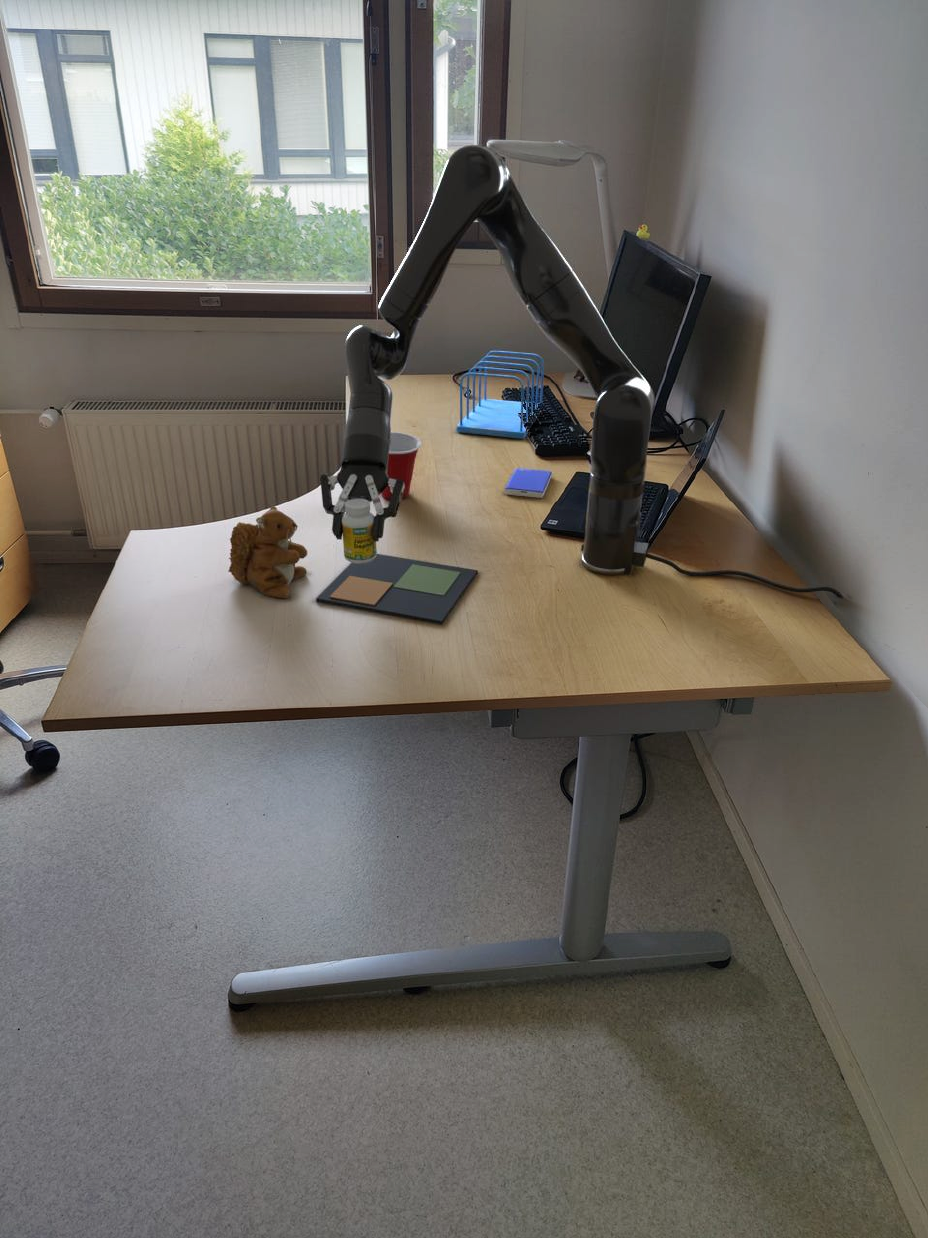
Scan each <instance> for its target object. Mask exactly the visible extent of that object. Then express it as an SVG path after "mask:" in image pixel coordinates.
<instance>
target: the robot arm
mask: <svg viewBox="0 0 928 1238" xmlns="http://www.w3.org/2000/svg"><path fill="white" fill-rule="evenodd" d="M475 221H477V222H478V223H479V225H480V226H481V227H482V228H483V231H485V233H486V234H487V235H488V236H489V238H490V239H491V241H492V242H493V244H494V245H495V247H496V249H497V250H498V251H497V252H499V255H500V257H501V259H502V261H503V265H504V267H505V269H506V272H507V274H508V276H509V279H510V282H511V283H512V286H513V288H514V290H515V292H516V294H517V296H518V298H519V299H520V301H521V303H522V305H523V306H524V307H525V309H526V311H527V312H528V313H529V315H530V317H531V318H532V320H533V321H534V323H535V324H536V325H537V326H538V327H537V328H539V329H540V331H541V332H542V333H543V334H544V336H545V337H546V338H547V339H548V340H549V341H550V342H551V343H552V344H554V346H556V347H557V348H558V349H559V350H560V351H561V352H562V353H563V354H564V355H565V356H567V357H568V358H569V359H570V360H571V361H572V362H573V363H574V364H575V365H576V366H577V367H578V369H579V370H580V372H581V373H582V374H583V376H584V378H585V379H586V381H587V383H588V385H589V387H590V388H591V390H592V392H593V393H594V396H595V397H596V403H595V405H594V412H593V419H592V431H591V445H590V474H589V485H588V495H587V505H586V506H587V507H586V514H585V515H586V517H585V525H584V526H585V527H584V537H583V544H581V547H580V553H582V555H581V564H582V566H583V567H584V568H586V569H587V570H589V571H590V572H593V573H596V574H601V575H608V576H618V575H631V574H632V572H633V570H634V568H635V566H636V567H642V568H644V567H645V563H646V561H647V559H650V560H654V561H656V562H660V563H662V564H664V565H667V566H669V567H671V568H673V569H674V570H675V571H677V572H679V573H680V574H682V575H686V576H691V577H708V576H719V575H721V576H722V575H732V576H741V577H746V578H749V579H752V580H756V581H758V582H762V583H763V584H767V585H769V586H771V587H774V588H777V589H781V590H784V591H788V592H793V593H801V594H802V593H803V594H804V593H813V592H830V593H832V594H834V595H835V596H836V597H837V598H841V599H842V598H843V597H844V596H843V595H842V593H841V592H840V591H838V590H837V589H835V588H833V587H831V586H825V585H824V586H821V585H820V586H812V587H794V586H789V585H785V584H781V583H779V582H775V581H773V580H770V579H768V578H765V577H762V576H760V575H756V574H753V573H749V572H745V571H740V570H733V569H720V570H710V571H692V570H687V569H683V568H681V567H680V566H678V565H677V564H675V563H674V562H673V561H671V560H668V559H666V558H664V557H660V556H657V555H653V554H651V553H649V545H650V543H647V542H641V541H639V537H640V529H641V523H642V516H643V515H642V512H641V511H642V510H641V509H642V503H643V502H642V501H643V495H644V486H645V479H646V478H645V477H646V470H647V459H648V458H647V457H648V448H649V440H650V432H651V424H652V417H653V413H654V410H655V406H656V400H655V399H656V398H655V394H654V390H653V388H652V387H651V385H650V384H649V382H648V381H647V379H646V378H645V377H644V375H642V374H641V372H640V371H639V370H638V369H637V368H636V366H635V365H634V364H633V363H632V362H631V360H630V359H629V358H628V356H627V355H626V354H625V352H624V351H623V350H622V348H621V347H620V346H619V345H618V343H617V341H616V340H615V339H614V337H613V336H612V334H611V332H610V330H609V328H608V325H607V324H606V323H605V321H604V319H603V317H602V315H601V313H600V312H599V310H598V308H597V307H596V305H595V304H594V302H593V300H592V298H591V297H590V295H589V293H588V291H587V290H586V288H585V286H584V285H583V283H582V282H581V280H580V279H579V277H578V275H577V274H576V272H575V271H574V270H573V268H572V266H571V265H570V264H569V262H568V261H567V260H566V259H565V257H564V255H563V254H562V253H561V251H560V250H559V249H558V247H557V246H556V245H555V243H554V241H553V240H552V239H551V237H550V236H549V235H548V234H547V233H546V231H545V230H544V229H543V228H542V227H541V225H540V224H539V222H538V221H537V220H536V218H535V217H534V216H533V214H532V212H531V210H530V208H529V207H528V205H527V204H526V201H525V200H524V197H523V196H522V194H521V192H520V190H519V188H518V186H517V184H516V182H515V180H514V178H513V176H512V174H511V172H510V170H509V168H508V166H507V163H506V162H505V159H503V158H502V156H501V155H500V154H499V153H498V152H497V151H496V150H494V149H492V148H491V147H489V146H485V145H481V144H480V145H479V144H469V145H464V146H462V147H459V148H458V149H456V150H455V151H454V152H452V154H451V155H450V156H449V157H448V159H447V161H446V163H445V166H444V168H443V171H442V174H441V177H440V179H439V182H438V185H437V187H436V190H435V193H434V196H433V199H432V202H431V205H430V207H429V209H428V212H427V213H426V216H425V218H424V221H423V223H422V225H421V227H420V229H419V231H418V233H417V235H416V237H415V239H414V240H413V243H412V244H411V246H410V248H409V250H408V252H407V253H406V256H405V257H404V258H403V260H402V262H401V264H400V266H399V267H398V270H397V271H396V273H395V274H394V276H393V278H392V280H391V281H390V284H389V285H388V286H387V288H386V290H385V292H384V294H383V296H382V297H381V300H380V302H379V304H378V314H379V316H380V317H381V319H383V320H384V321H385V322H386V323H387V324H389V325H390V327H392V328H393V332H392V334H391V336H390V335H388V334H386V333H384V332H382V331H380V330H377V329H375V328H372V327H371V326H368V325H358V326H356V327H354V328H353V329H352V330H351V331H350V332H349V334H348V336H347V337H346V339H345V343H344V349H343V351H344V353H343V354H344V355H343V357H344V364H345V369H346V373H347V380H348V386H349V391H350V392H349V393H350V397H349V406H348V414H347V419H346V422H345V427H344V428H345V429H344V435H343V436H344V437H343V446H342V455H341V464H340V469H339V472H337V474H336V475H331V476H328V475H327V474H321V475H320V477H319V479H320V490H321V500H322V507H323V509H324V511H325V513H326V514H327V515H331V516H333V517H332V526H331V531H332V534H333V536H335V538H336V540H343V532H342V517H343V516H344V514H346V512H345V502H346V501H348V500H351V499H365V500H368V501H369V502H370V503H373V506H374V510H375V512H376V514H375V515H374V527H373V540H374V541H376V543H377V542H379V540H380V539H382V538H383V537H384V529H385V520H386V519H388V518H395V517H397V515H398V512H399V508H400V505H401V503H402V500H403V499H402V496H403V493H404V489H405V485H404V481H403V479H401V478H398V479H397V480H396V479H391V478H389V477H388V475H387V468H388V457H389V446H390V443H391V439H390V436H391V432H392V427H391V419H392V407H393V391H392V389H391V387H390V386H389V385H388V384H387V383H386V382H385V381H392V380H394V379H396V378H397V377H399V376H400V375H401V374H402V373H403V372H404V369H405V367H406V365H407V362H408V358H409V353H410V350H411V345H412V343H413V340H414V336H415V333H416V329H417V327H418V325H419V322H420V321H421V319H422V317H423V316H424V314H425V312H426V310H428V307H429V306H430V304H431V302H432V300H433V298H434V297H435V295H436V294H437V291H438V290H439V287H440V285H441V283H442V281H443V278H444V275H445V273H446V270H447V268H448V265H449V264H450V261H451V259H452V257H453V255H454V253H455V251H456V250H457V247H458V245H459V244H460V242H461V241H462V239H463V237H464V236H465V234H466V233H467V231H468V230H469V229H470V228H471V226H472V225H473V224H474V222H475ZM383 380H385V381H383ZM337 484H339V486H340V488H341V492H340V494H339V496H338V500H337V502H336V503H335V504H333V496H332V491H334V490H335V488H336V485H337ZM388 485H389V486H390V490H391V492H392V496H391V499H389V503H388V506H386V507H383V504H382V501H381V497H380V495H382V494H381V493H382V492H383V490H384V489H385V488H386V487H387V486H388Z"/></svg>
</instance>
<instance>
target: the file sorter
mask: <svg viewBox="0 0 928 1238" xmlns="http://www.w3.org/2000/svg"><path fill="white" fill-rule="evenodd" d="M493 354H500V355H501V354H502V355H514V356H515V355H516V356H526V357H527V356H528V357H535V358H537V359H538V360H540V363H541V369H540V366H539V364H538V362H537V361H535V360H534V359H532V358H522V357H512V356H500V355H493ZM488 359H496V360H508V361H509V360H510V361H518V362H519V361H520V362H521V361H522V362H529V363H532V364H534V365H535V367H536V370H537V371H536V373H537V374H536V387H535V371H534V369H533V368H532V367H531V366H530V365H528V364H522V363H514V362H513V363H511V362H500V361H488ZM483 365H484V366H483ZM488 365H496V366H497V365H498V366H509V367H510V366H511V367H519V368H526V369H528V370H529V371H530V372H531V373H530V374H531V382H530V377H529V375H528V374H527V373H526V372H525V371H524V370H521V369H511V368H499V367H488ZM476 370H478V372H476ZM482 370H483V371H484V373H483V371H482ZM540 370H541V376H540ZM488 371H496V372H507V373H518V374H522V375H523V376H524V377H525V378H526V383H527V384H526V401H524V400H525V399H524V398H525V385H524V382H523V381H522V380H521V378H519V377H518V376H515V375H506V374H505V375H504V374H496V373H495V374H493V373H488ZM470 376H472V410H470ZM476 376H478V403H477V404H476ZM544 376H545V362H544V359H543V358H542V356H541V355H539V354H536V353H531V352H530V353H529V352H518V351H506V350H505V351H503V350H491V351H489V352H488V353H487V354H486V356H484V357H482V359H481V360H480V361H479V362H477V363H475V365H474V366H473V367H472V368H470V370H468V372H466V373H465V374H463V375H462V376H461V378H460V381H459V423H458V424H457V425H456V432H457V433H463V434H473V435H484V436H492V437H493V436H495V437H504V438H511V439H522V440H523V439H525V438H526V436H527V435H528V433H529V432H528V431H527V433H526V429H525V427H524V424H523V413H526V422H528V407H529V403H531V413H530V414H531V415H533V403H534V397H535V403H536V405H535V409H536V410H537V407H538V404H540V403H542V404H543V394H544V393H543V392H544ZM482 377H484V386H483V387H484V392H483V396H484V397H483V398H482ZM488 377H489V378H490V377H491V378H502V379H510V380H511V379H513V380H516V381H517V382H519V383H520V386H521V388H520V389H521V394H520V395H521V398H520V400H521V401H513V400H502V399H491V398H487V386H488V385H487V383H488V381H487V380H488ZM465 378H466V416H465V417H464V418H463V382H464V379H465ZM530 383H531V384H530ZM530 385H531V393H530ZM535 388H536V391H535ZM539 390H540V393H539ZM535 392H536V393H535ZM530 395H531V396H530ZM534 395H535V396H534ZM524 402H525V403H526V410H525V409H524V407H523V404H524ZM518 413H521V419H520V417H519V416H518V415H519V414H518ZM531 415H530V416H531ZM526 422H525V423H526Z"/></svg>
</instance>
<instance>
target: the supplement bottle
mask: <svg viewBox="0 0 928 1238" xmlns="http://www.w3.org/2000/svg"><path fill="white" fill-rule="evenodd" d="M374 517H375V515H374V513H372V512H371V502H369V501H368V500H365V499H351V500H348V501H346V502H345V514H344V515H343V517H342V532H343V533H342V544H343V555H344V556H343V557H344V559H345V560H346V561H347V562H349V563H357V564H361V563H368V562H370V561H372V560H373V559H374V558H375V557H376V555H377V554H378V549H377V548H378V547H377V541H374V540H373V527H374Z"/></svg>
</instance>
